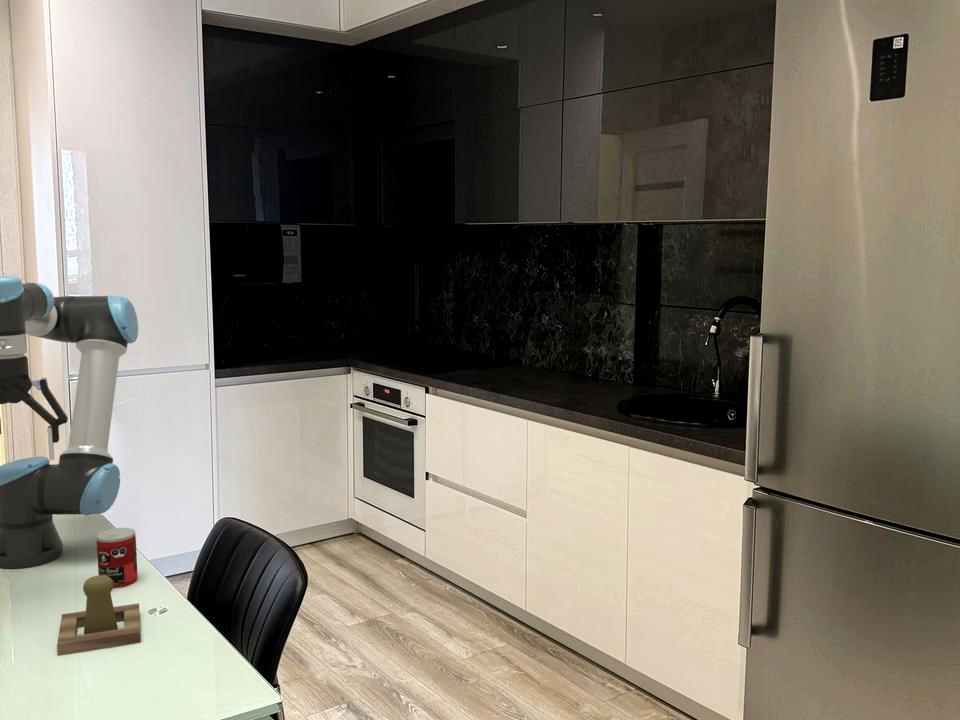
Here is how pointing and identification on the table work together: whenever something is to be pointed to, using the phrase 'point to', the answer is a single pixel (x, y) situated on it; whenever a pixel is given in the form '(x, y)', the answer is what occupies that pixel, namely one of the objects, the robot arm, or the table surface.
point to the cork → (99, 605)
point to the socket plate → (79, 643)
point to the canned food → (117, 555)
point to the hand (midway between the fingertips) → (14, 462)
